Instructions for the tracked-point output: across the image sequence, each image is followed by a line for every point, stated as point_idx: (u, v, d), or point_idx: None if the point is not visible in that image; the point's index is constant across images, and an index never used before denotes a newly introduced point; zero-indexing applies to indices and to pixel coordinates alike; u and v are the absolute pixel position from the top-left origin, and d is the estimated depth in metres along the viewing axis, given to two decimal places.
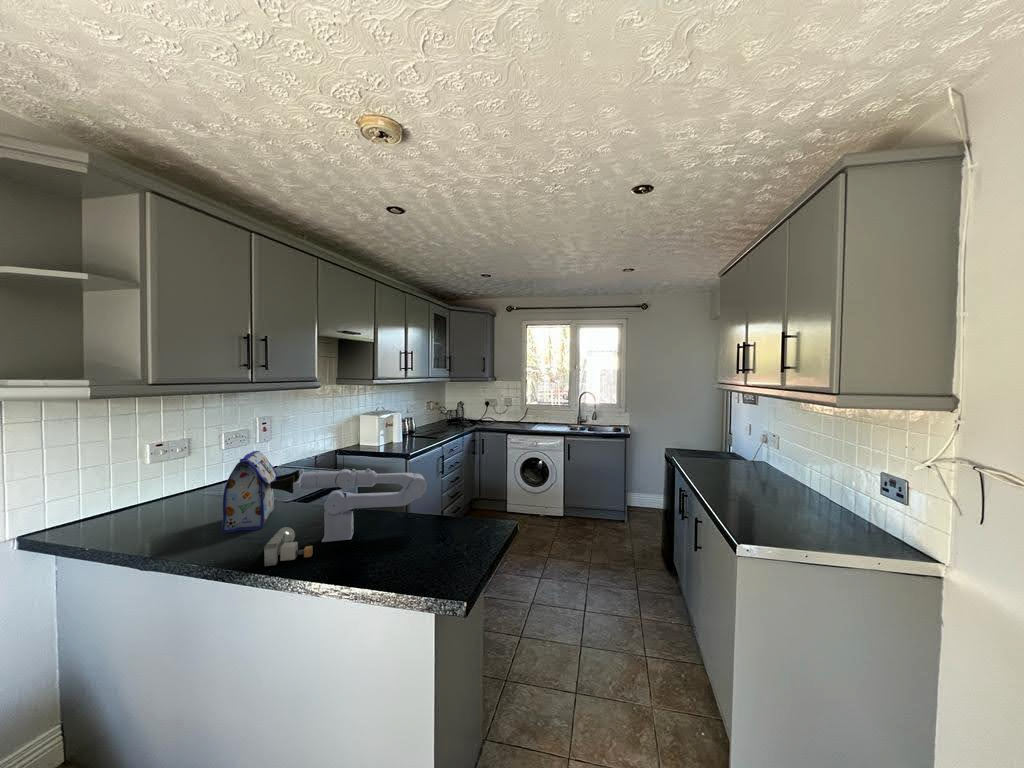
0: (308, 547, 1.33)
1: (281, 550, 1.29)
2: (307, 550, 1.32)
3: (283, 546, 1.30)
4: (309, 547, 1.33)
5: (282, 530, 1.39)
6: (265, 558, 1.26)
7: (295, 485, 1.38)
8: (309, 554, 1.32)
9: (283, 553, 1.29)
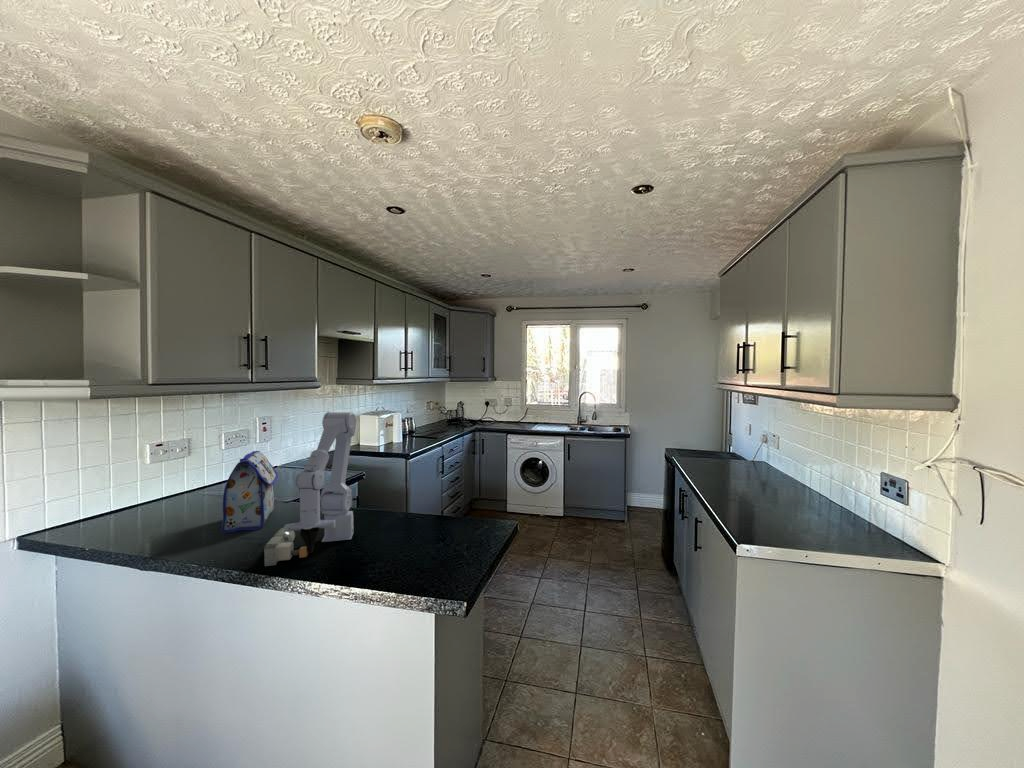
0: (303, 547, 1.33)
1: None
2: (303, 551, 1.31)
3: (278, 546, 1.30)
4: (305, 547, 1.33)
5: (282, 530, 1.39)
6: (265, 558, 1.26)
7: (334, 524, 1.35)
8: (304, 554, 1.32)
9: (279, 553, 1.29)
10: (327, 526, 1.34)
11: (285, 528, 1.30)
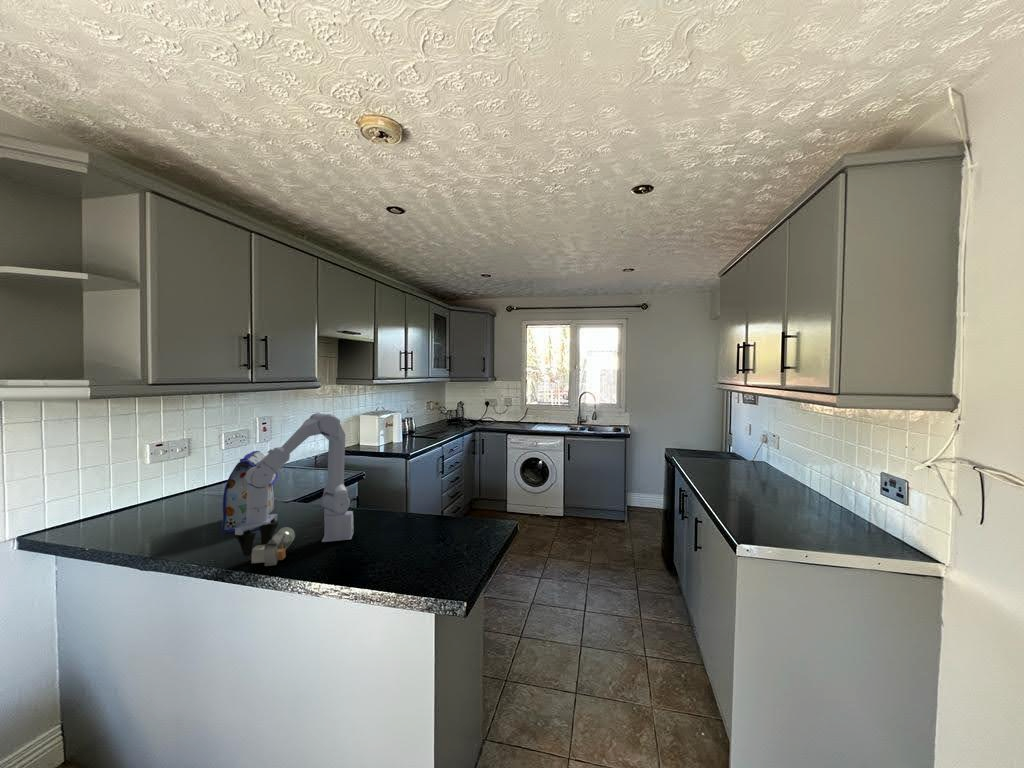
0: (280, 550, 1.31)
1: (252, 553, 1.28)
2: (279, 553, 1.30)
3: (255, 548, 1.29)
4: (282, 549, 1.31)
5: (282, 530, 1.39)
6: (265, 558, 1.26)
7: None
8: (281, 557, 1.30)
9: (254, 555, 1.28)
10: (270, 520, 1.34)
11: (241, 530, 1.22)
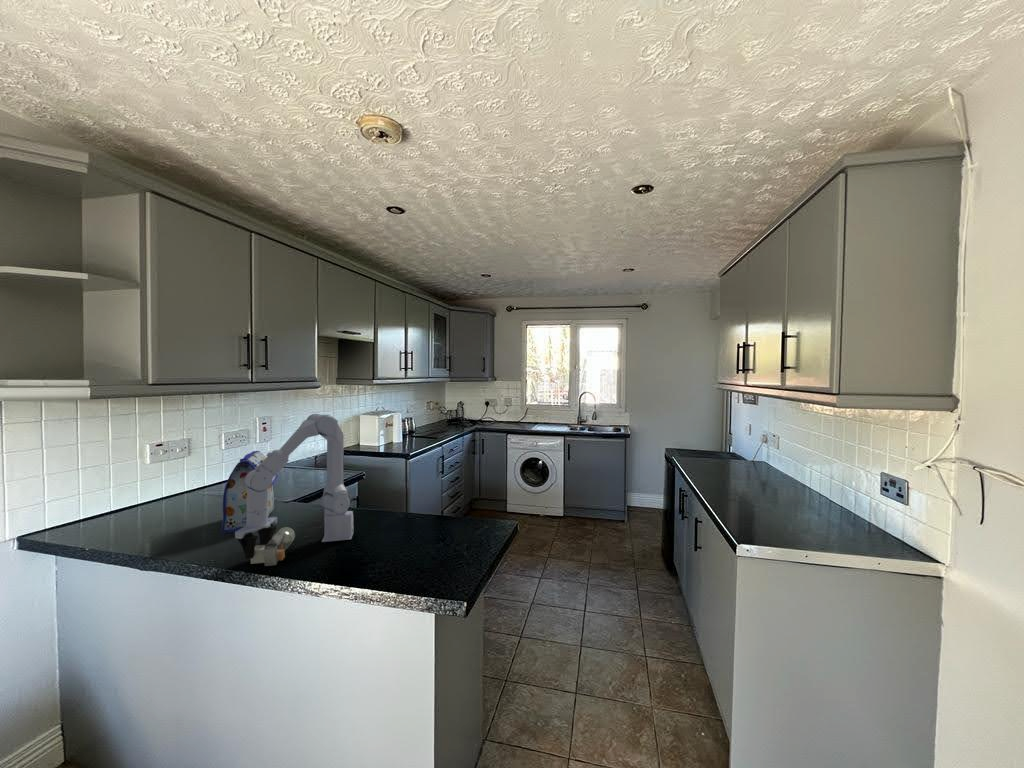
0: (280, 550, 1.31)
1: None
2: (278, 554, 1.29)
3: (254, 549, 1.28)
4: (281, 550, 1.31)
5: (282, 530, 1.39)
6: (265, 558, 1.26)
7: None
8: (280, 558, 1.29)
9: (254, 556, 1.27)
10: (270, 523, 1.34)
11: (241, 534, 1.23)
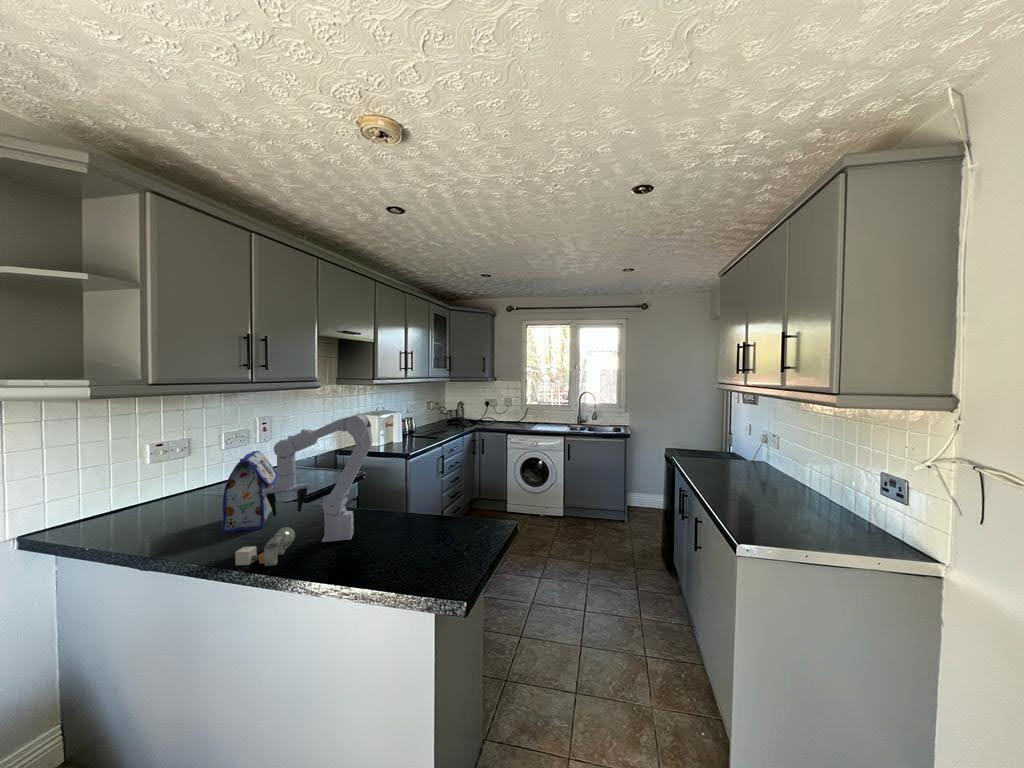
0: None
1: (236, 554, 1.26)
2: (262, 556, 1.27)
3: (239, 550, 1.27)
4: None
5: (282, 530, 1.39)
6: (265, 558, 1.26)
7: None
8: None
9: (238, 557, 1.26)
10: (303, 488, 1.49)
11: (264, 492, 1.41)
